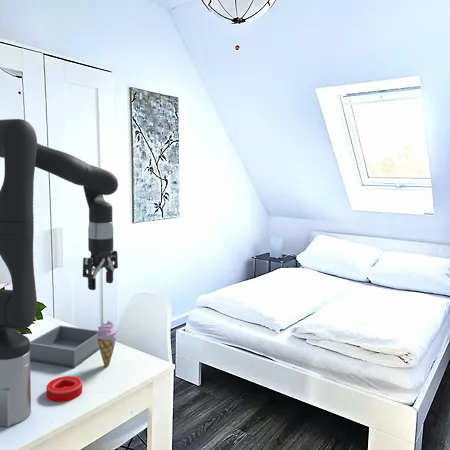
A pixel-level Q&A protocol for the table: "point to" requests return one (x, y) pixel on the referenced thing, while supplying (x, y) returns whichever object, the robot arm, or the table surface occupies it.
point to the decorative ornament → (64, 389)
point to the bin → (64, 346)
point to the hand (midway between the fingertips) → (101, 286)
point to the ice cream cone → (106, 341)
